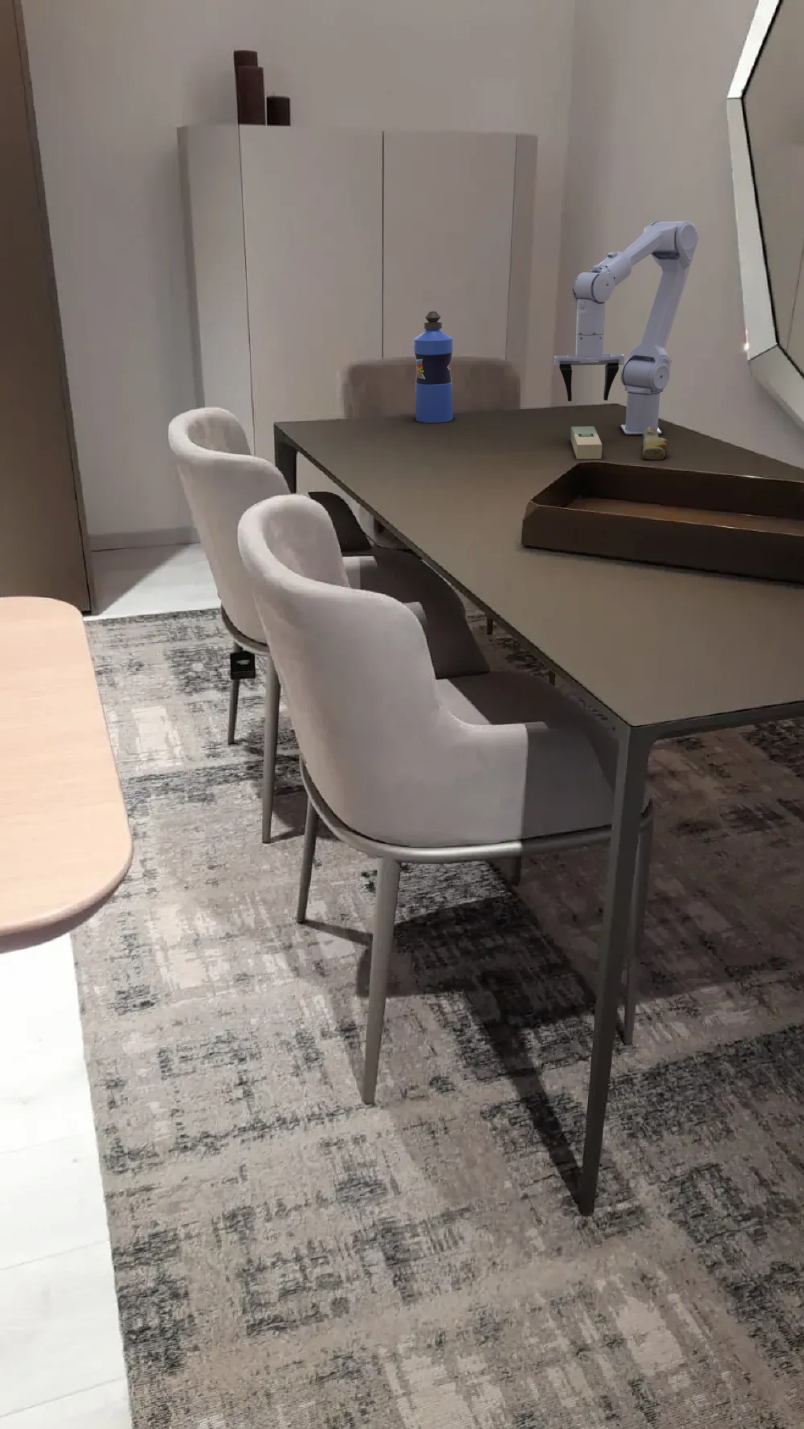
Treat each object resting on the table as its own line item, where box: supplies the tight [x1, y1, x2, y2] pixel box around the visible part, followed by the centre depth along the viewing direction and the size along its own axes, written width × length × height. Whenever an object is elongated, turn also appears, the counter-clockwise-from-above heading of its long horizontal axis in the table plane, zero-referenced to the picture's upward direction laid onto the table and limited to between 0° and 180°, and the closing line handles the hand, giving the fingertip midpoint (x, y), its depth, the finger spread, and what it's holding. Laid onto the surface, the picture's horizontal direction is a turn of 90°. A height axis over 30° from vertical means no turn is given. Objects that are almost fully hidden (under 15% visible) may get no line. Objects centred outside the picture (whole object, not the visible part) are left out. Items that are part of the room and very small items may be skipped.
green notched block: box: [570, 426, 598, 446], centre depth 238 cm, size 10×5×3 cm, turn 176°
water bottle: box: [413, 310, 454, 424], centre depth 266 cm, size 9×9×25 cm
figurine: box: [641, 427, 670, 461], centre depth 229 cm, size 5×5×15 cm
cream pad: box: [572, 433, 603, 460], centre depth 230 cm, size 11×5×3 cm, turn 176°
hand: (587, 400), depth 237 cm, fingers open, 7 cm apart
